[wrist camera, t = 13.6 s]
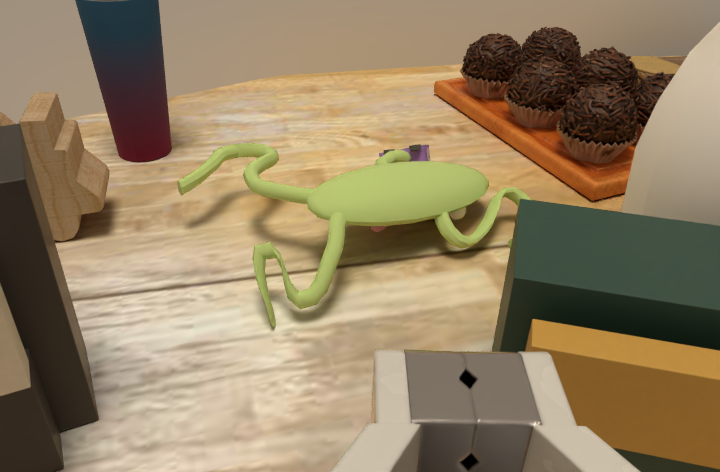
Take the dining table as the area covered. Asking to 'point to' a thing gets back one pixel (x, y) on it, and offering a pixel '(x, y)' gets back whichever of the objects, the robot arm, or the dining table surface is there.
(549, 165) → the chocolate truffle
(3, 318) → the piano keyboard
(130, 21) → the cup
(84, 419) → the toy piano
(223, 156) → the figurine
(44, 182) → the toy train
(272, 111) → the dining table surface
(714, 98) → the bottle
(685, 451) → the box button
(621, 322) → the box
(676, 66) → the picture frame
